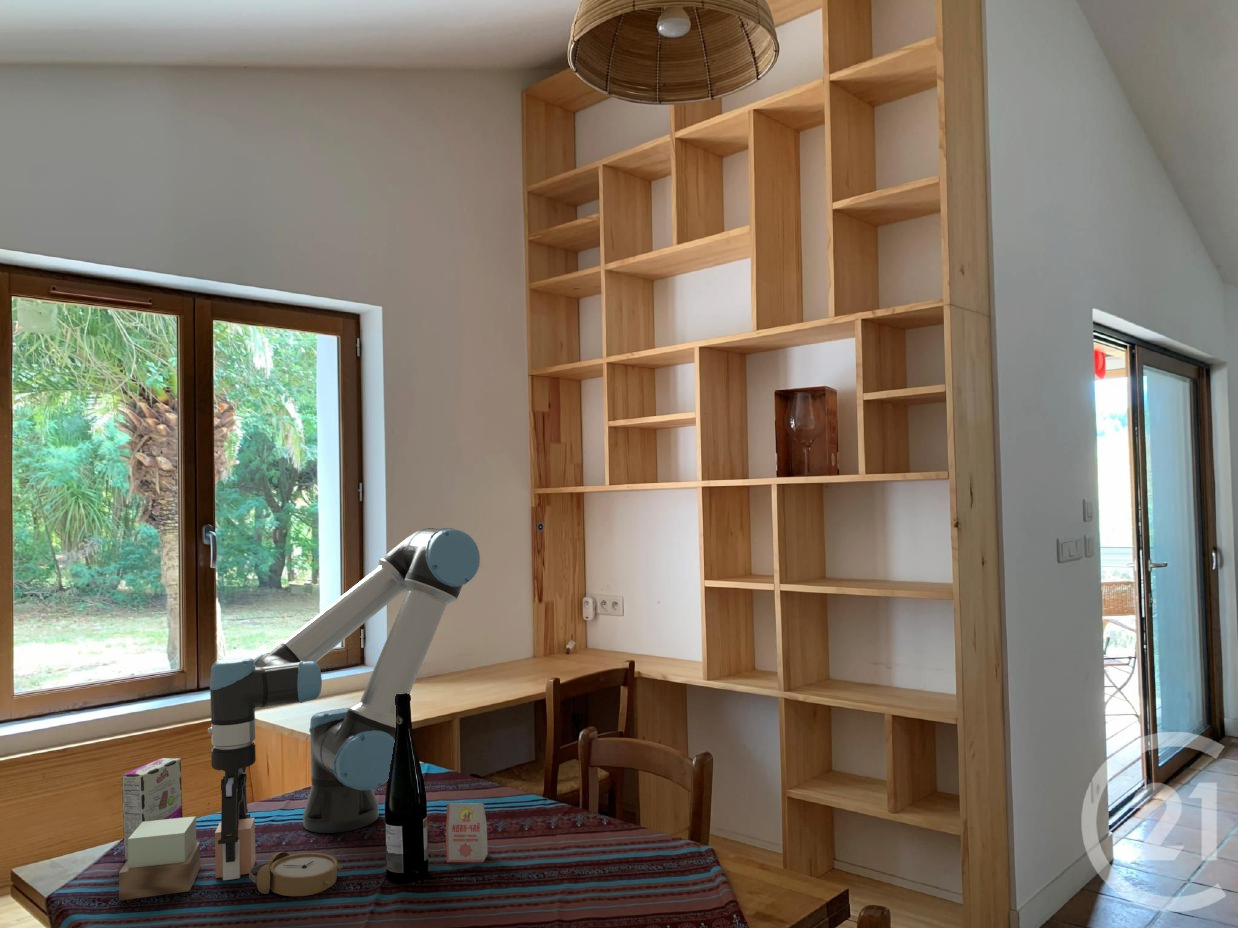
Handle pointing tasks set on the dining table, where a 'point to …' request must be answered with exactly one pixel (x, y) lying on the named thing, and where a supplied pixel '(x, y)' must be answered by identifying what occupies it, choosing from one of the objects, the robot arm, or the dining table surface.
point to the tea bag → (466, 832)
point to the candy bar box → (151, 795)
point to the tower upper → (162, 842)
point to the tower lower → (159, 878)
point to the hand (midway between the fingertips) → (235, 867)
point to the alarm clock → (296, 874)
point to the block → (245, 844)
